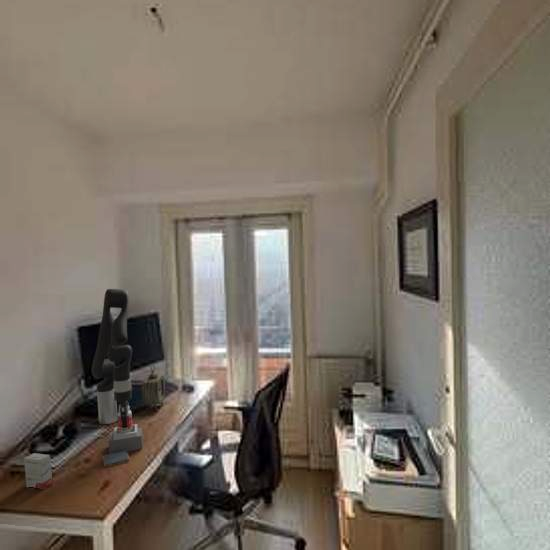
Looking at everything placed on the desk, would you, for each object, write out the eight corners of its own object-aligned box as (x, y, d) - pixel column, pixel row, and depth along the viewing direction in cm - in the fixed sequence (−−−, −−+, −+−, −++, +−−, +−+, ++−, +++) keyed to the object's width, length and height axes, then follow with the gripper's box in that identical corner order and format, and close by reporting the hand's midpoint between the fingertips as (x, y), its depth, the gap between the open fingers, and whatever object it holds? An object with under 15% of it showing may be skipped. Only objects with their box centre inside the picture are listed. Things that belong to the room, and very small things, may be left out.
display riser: (111, 444, 202) (110, 428, 202) (142, 439, 206) (141, 423, 206) (109, 454, 193) (108, 436, 192) (142, 448, 197) (141, 431, 196)
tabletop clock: (159, 412, 241) (156, 368, 239) (142, 413, 241) (139, 368, 240) (166, 403, 255) (163, 361, 254) (150, 404, 255) (147, 362, 254)
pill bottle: (132, 432, 197) (130, 408, 196) (117, 434, 195) (116, 410, 195) (133, 426, 203) (131, 403, 202) (119, 428, 201) (117, 405, 201)
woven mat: (104, 469, 180) (104, 464, 180) (101, 459, 190) (101, 454, 189) (130, 462, 185) (130, 458, 185) (126, 452, 194) (126, 448, 194)
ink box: (53, 483, 170) (51, 454, 169) (43, 490, 165) (40, 460, 165) (36, 481, 173) (34, 452, 172) (25, 487, 168) (23, 457, 167)
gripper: (130, 392, 192) (133, 429, 193) (131, 383, 206) (134, 418, 207) (112, 395, 190) (115, 432, 191) (115, 385, 204) (117, 420, 205)
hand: (125, 424), depth 199 cm, fingers closed on pill bottle, 6 cm apart
